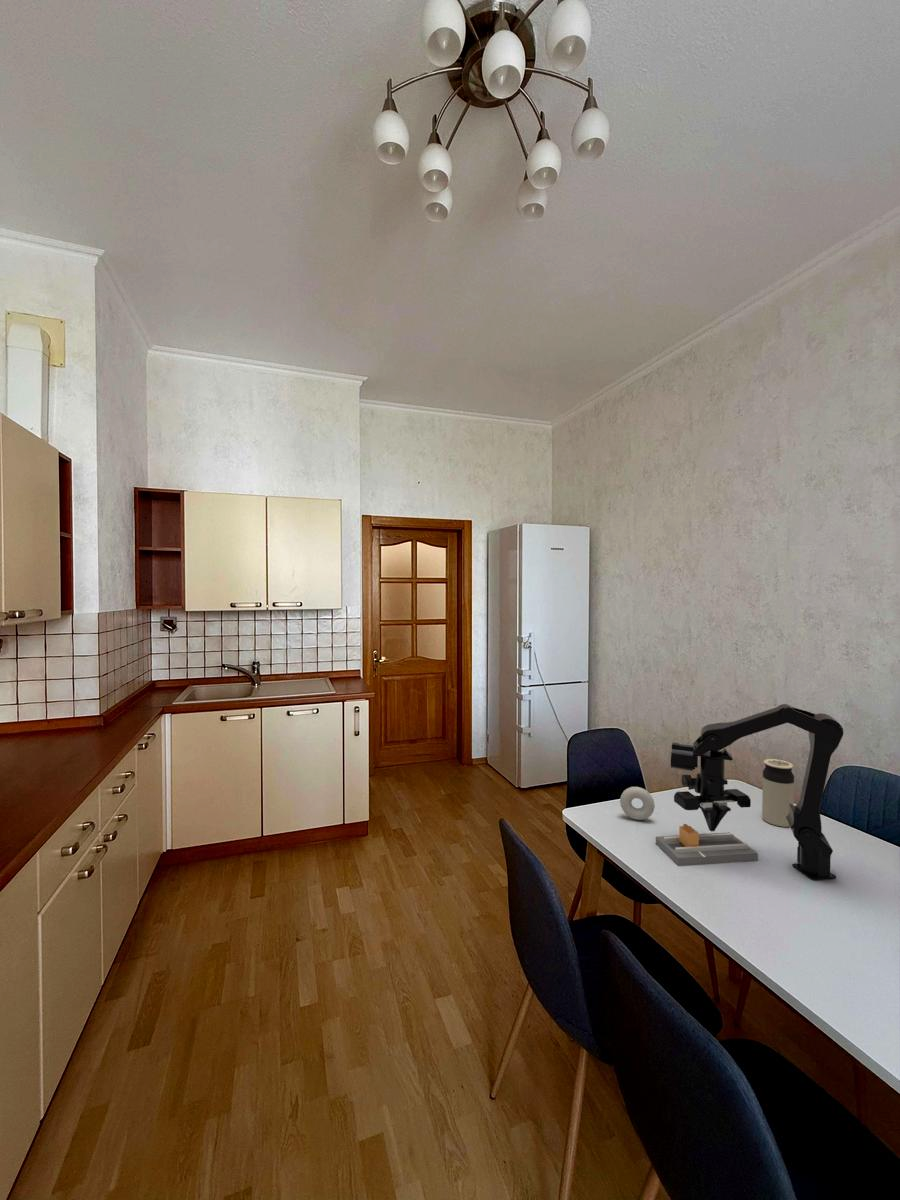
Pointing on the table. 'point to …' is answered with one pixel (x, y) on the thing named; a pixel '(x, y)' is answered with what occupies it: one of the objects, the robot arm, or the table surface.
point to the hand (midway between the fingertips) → (711, 830)
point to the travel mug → (777, 791)
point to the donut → (632, 811)
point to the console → (707, 849)
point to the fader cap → (688, 836)
